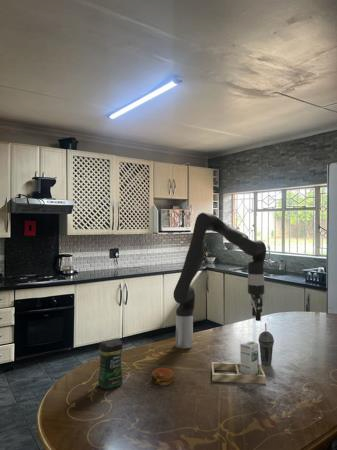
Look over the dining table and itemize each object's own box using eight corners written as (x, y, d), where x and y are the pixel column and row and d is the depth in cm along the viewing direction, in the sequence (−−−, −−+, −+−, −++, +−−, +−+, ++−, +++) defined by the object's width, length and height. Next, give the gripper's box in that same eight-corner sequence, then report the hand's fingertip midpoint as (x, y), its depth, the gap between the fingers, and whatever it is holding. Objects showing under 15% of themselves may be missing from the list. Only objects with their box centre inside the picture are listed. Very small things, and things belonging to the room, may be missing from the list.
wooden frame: (212, 381, 146) (212, 374, 146) (211, 368, 159) (211, 362, 159) (265, 383, 144) (265, 376, 144) (260, 370, 157) (260, 364, 157)
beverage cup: (275, 363, 166) (275, 321, 166) (273, 368, 159) (272, 325, 160) (259, 360, 169) (259, 319, 169) (257, 366, 163) (256, 323, 163)
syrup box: (251, 380, 147) (251, 346, 147) (240, 376, 152) (239, 342, 152) (259, 376, 151) (259, 343, 151) (247, 372, 155) (247, 340, 156)
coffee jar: (104, 392, 137) (104, 345, 137) (95, 384, 143) (95, 340, 143) (125, 385, 143) (125, 340, 143) (116, 378, 149) (116, 335, 149)
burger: (171, 375, 153) (171, 364, 153) (176, 385, 143) (176, 373, 143) (149, 377, 151) (149, 366, 151) (152, 387, 142) (152, 375, 142)
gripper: (245, 281, 169) (245, 314, 168) (250, 285, 154) (250, 322, 154) (261, 281, 168) (261, 314, 168) (267, 285, 154) (268, 322, 154)
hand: (256, 318), depth 161 cm, fingers open, 8 cm apart
